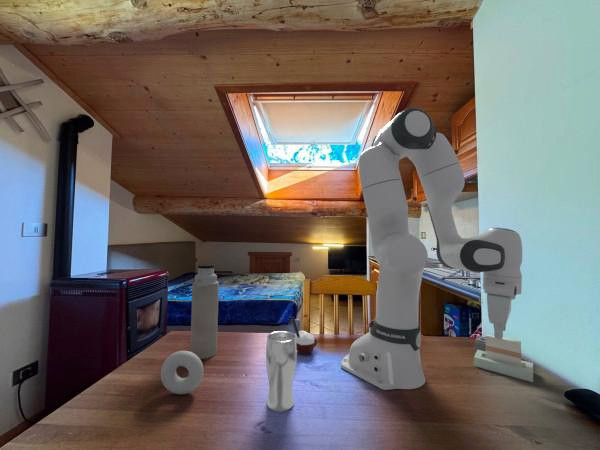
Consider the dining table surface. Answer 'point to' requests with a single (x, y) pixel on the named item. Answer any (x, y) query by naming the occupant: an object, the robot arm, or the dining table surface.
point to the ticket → (503, 350)
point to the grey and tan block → (480, 344)
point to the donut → (178, 383)
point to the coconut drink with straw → (304, 340)
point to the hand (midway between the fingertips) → (500, 334)
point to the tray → (504, 367)
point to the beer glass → (281, 369)
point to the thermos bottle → (204, 312)
